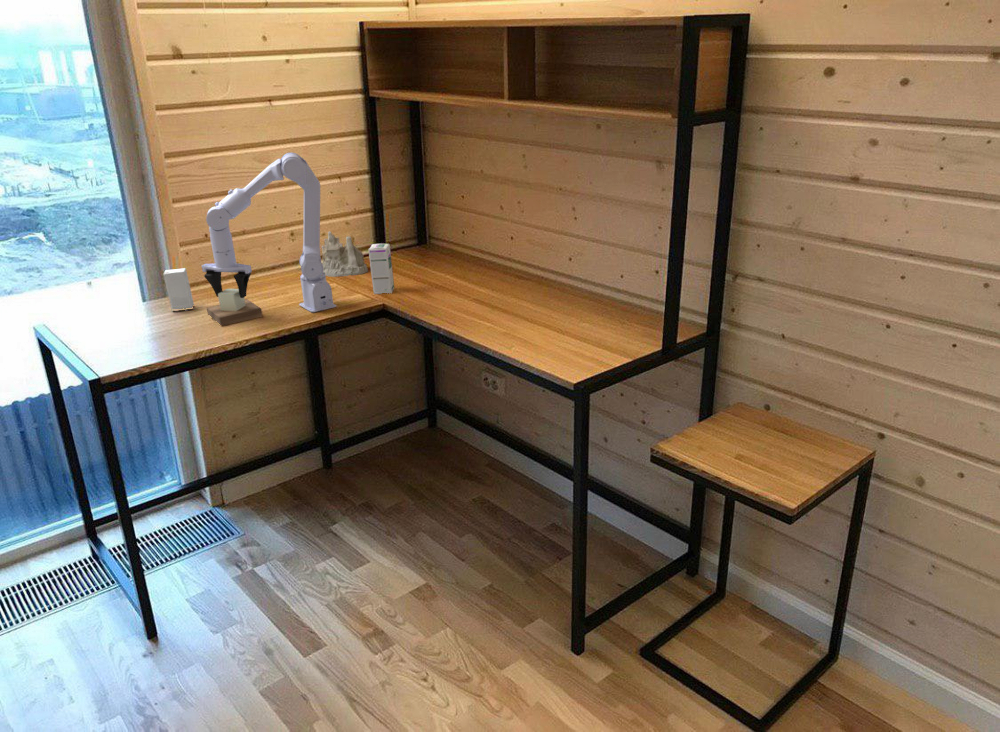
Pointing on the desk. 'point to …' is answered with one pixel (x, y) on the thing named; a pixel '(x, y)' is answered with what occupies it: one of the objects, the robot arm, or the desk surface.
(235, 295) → the white block
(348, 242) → the rocky castle sculpture
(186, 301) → the skincare box
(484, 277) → the desk surface
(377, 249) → the syrup box
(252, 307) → the walnut box
